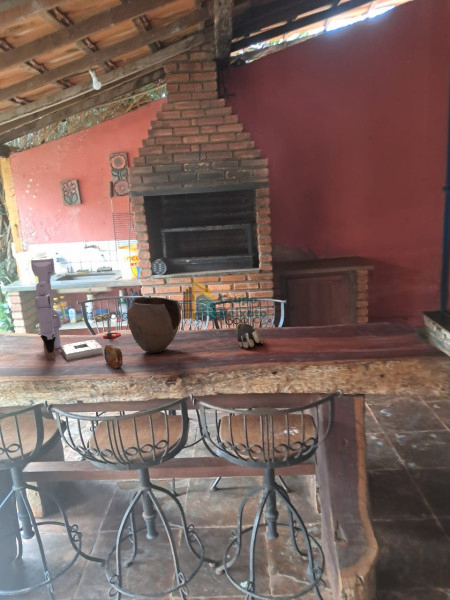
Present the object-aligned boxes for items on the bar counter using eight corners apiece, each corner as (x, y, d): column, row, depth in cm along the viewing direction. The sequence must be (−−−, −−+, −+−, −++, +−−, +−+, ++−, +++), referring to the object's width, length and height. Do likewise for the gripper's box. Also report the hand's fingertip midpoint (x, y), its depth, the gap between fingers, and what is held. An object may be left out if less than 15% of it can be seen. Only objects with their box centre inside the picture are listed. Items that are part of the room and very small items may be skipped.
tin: (104, 362, 197) (102, 343, 195) (111, 360, 199) (109, 342, 197) (117, 371, 185) (115, 351, 183) (124, 369, 187) (123, 349, 185)
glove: (233, 341, 226) (239, 350, 202) (233, 322, 226) (239, 328, 201) (257, 342, 227) (266, 350, 203) (258, 322, 227) (266, 328, 202)
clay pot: (120, 353, 208) (115, 300, 203) (161, 341, 225) (157, 291, 220) (153, 363, 191) (148, 306, 187) (194, 349, 209) (190, 296, 204)
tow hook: (108, 334, 244) (101, 338, 235) (106, 310, 242) (99, 314, 233) (123, 334, 243) (116, 338, 234) (121, 310, 241) (114, 314, 232)
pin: (45, 356, 205) (42, 339, 203) (54, 354, 207) (52, 337, 205) (46, 358, 201) (44, 341, 200) (55, 356, 203) (53, 339, 201)
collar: (61, 351, 216) (60, 345, 215) (94, 345, 223) (94, 339, 222) (67, 360, 202) (66, 353, 201) (102, 353, 209) (102, 347, 209)
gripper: (34, 320, 205) (38, 348, 208) (38, 326, 193) (42, 357, 195) (50, 317, 208) (54, 345, 211) (55, 324, 196) (59, 353, 199)
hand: (49, 351), depth 203 cm, fingers closed on pin, 4 cm apart
